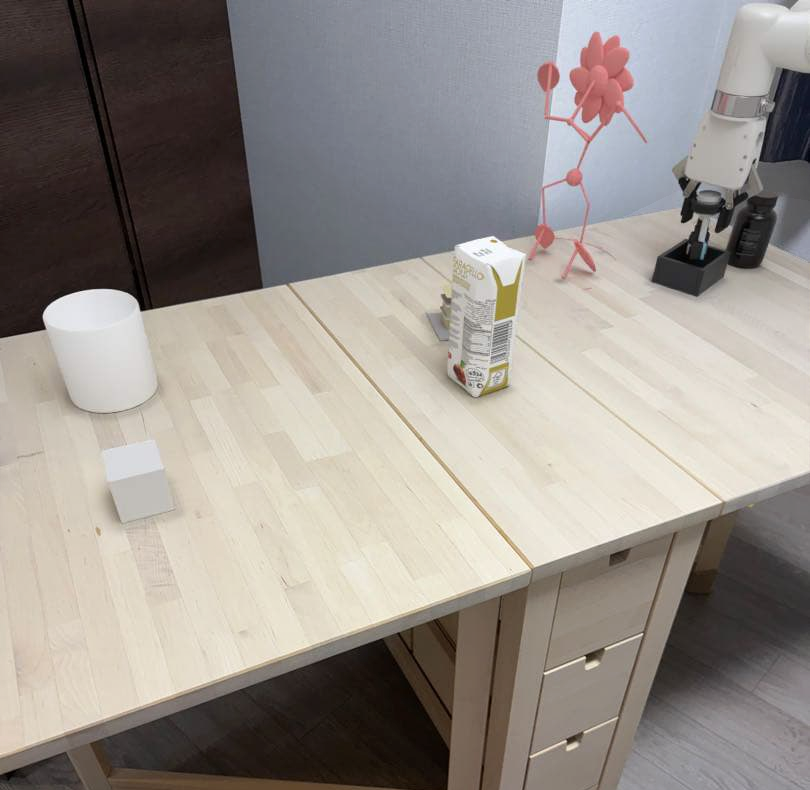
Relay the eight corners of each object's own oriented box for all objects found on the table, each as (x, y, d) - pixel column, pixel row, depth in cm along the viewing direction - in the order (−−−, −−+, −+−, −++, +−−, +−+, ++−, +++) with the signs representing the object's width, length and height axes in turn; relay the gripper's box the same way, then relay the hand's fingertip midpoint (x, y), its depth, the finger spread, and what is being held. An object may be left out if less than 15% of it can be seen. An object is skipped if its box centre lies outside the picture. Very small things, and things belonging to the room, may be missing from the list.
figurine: (593, 297, 126) (641, 55, 101) (497, 245, 141) (519, 23, 117) (656, 276, 132) (715, 43, 108) (558, 228, 147) (590, 15, 123)
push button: (676, 245, 131) (689, 185, 124) (707, 245, 130) (722, 185, 123) (681, 260, 126) (695, 199, 119) (714, 261, 125) (730, 199, 119)
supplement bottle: (769, 263, 136) (793, 195, 128) (745, 272, 134) (769, 203, 125) (738, 250, 141) (760, 184, 132) (714, 259, 138) (735, 191, 129)
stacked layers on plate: (439, 340, 114) (441, 307, 111) (426, 313, 121) (427, 281, 117) (502, 334, 116) (505, 301, 112) (485, 308, 122) (488, 276, 118)
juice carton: (474, 403, 102) (486, 268, 89) (439, 374, 107) (445, 243, 94) (517, 387, 105) (535, 254, 92) (481, 360, 110) (493, 231, 97)
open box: (723, 276, 132) (731, 251, 129) (697, 296, 126) (704, 271, 123) (678, 263, 136) (685, 238, 133) (651, 281, 130) (657, 256, 127)
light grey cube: (175, 509, 85) (164, 468, 81) (121, 523, 84) (107, 482, 79) (165, 479, 89) (154, 438, 85) (114, 491, 88) (100, 450, 83)
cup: (121, 359, 109) (99, 280, 101) (175, 385, 104) (157, 304, 96) (52, 394, 102) (22, 313, 94) (107, 423, 97) (81, 340, 89)
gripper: (803, 110, 110) (761, 233, 123) (696, 89, 118) (666, 207, 131) (784, 120, 106) (742, 246, 119) (674, 98, 114) (646, 218, 127)
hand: (703, 224), depth 125 cm, fingers closed on push button, 5 cm apart
